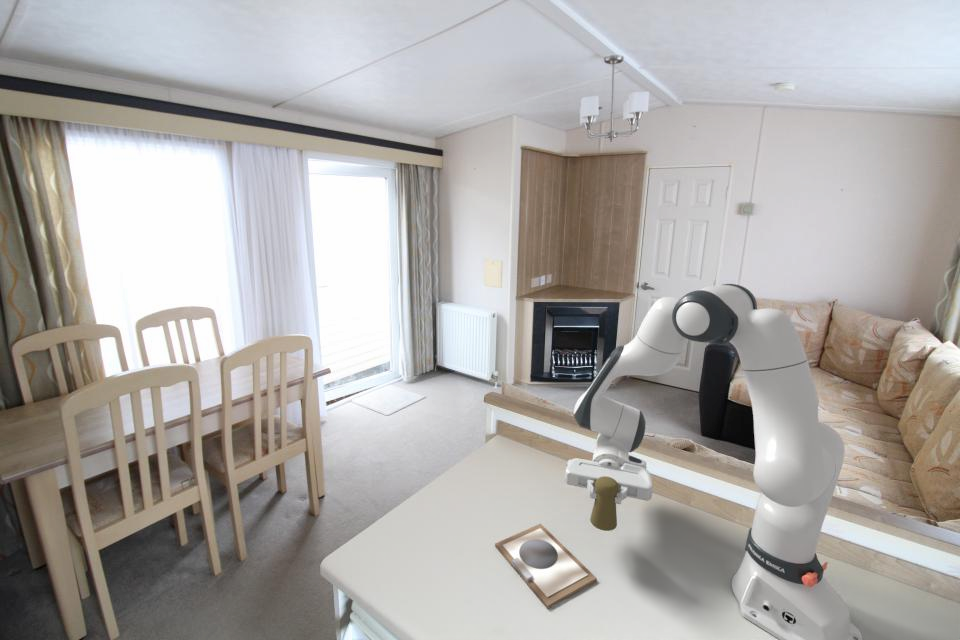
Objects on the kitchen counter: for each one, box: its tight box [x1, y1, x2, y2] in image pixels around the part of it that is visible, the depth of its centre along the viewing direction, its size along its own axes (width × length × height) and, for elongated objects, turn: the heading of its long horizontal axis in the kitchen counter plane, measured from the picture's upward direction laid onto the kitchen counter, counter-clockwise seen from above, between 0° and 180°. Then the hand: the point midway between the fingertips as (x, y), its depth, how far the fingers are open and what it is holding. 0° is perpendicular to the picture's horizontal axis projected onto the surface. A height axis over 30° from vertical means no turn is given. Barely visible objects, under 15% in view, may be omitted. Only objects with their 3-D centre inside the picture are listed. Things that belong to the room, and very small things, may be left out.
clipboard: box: [494, 523, 598, 609], centre depth 105 cm, size 20×14×2 cm
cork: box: [590, 476, 619, 532], centre depth 103 cm, size 6×6×11 cm
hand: (605, 498), depth 102 cm, fingers closed on cork, 4 cm apart
